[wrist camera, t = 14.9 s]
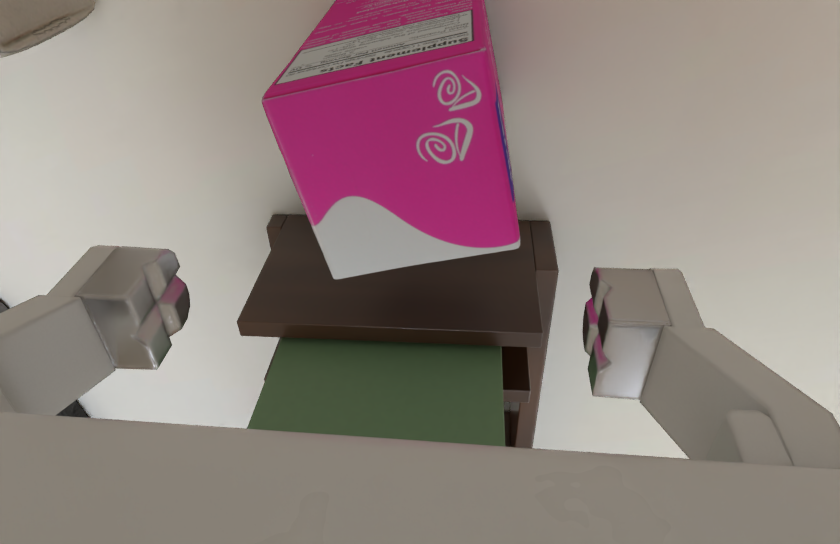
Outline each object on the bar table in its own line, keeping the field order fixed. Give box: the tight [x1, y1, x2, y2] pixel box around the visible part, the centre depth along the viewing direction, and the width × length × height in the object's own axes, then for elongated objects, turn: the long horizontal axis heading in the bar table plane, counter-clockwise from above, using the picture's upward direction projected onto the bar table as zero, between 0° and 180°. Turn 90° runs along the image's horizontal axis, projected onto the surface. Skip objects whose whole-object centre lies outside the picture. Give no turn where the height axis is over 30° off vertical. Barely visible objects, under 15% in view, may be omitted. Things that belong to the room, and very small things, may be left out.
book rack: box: [237, 215, 559, 448], centre depth 33 cm, size 24×14×8 cm, turn 1°
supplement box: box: [262, 0, 520, 279], centre depth 20 cm, size 6×6×12 cm
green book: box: [247, 337, 505, 447], centre depth 26 cm, size 3×9×13 cm, turn 91°
